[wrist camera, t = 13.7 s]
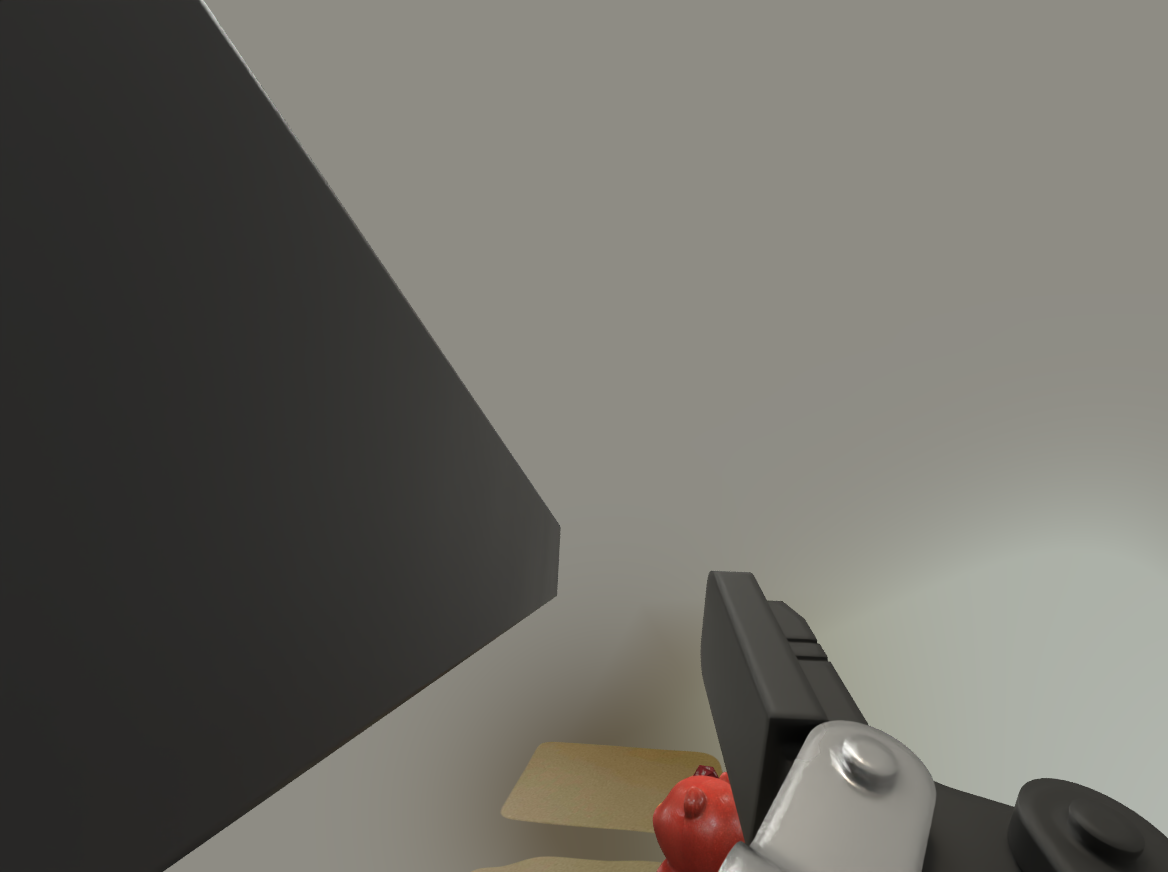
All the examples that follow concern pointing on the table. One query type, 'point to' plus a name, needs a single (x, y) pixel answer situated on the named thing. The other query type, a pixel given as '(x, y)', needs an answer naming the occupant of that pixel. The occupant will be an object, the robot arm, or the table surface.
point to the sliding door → (211, 452)
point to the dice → (706, 771)
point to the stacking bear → (697, 825)
